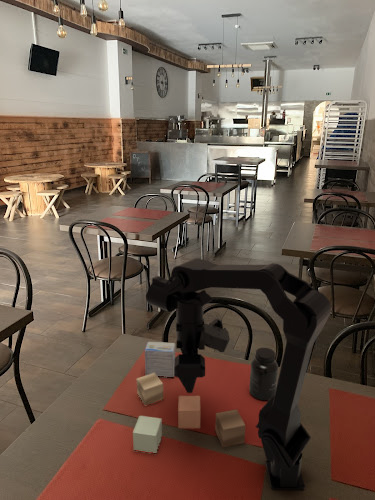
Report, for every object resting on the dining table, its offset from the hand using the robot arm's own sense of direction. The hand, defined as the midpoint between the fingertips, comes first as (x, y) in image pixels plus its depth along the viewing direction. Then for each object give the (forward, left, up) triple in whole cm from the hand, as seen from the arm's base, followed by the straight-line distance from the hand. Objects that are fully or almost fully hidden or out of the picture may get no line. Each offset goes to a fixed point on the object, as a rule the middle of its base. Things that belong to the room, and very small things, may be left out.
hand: (189, 378), depth 89 cm
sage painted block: (-7, +9, -12) cm, 16 cm away
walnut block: (-5, -9, -12) cm, 15 cm away
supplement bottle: (+10, -19, -12) cm, 24 cm away
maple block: (+8, +10, -12) cm, 17 cm away
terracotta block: (0, 0, -12) cm, 12 cm away
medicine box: (+18, +8, -12) cm, 23 cm away
